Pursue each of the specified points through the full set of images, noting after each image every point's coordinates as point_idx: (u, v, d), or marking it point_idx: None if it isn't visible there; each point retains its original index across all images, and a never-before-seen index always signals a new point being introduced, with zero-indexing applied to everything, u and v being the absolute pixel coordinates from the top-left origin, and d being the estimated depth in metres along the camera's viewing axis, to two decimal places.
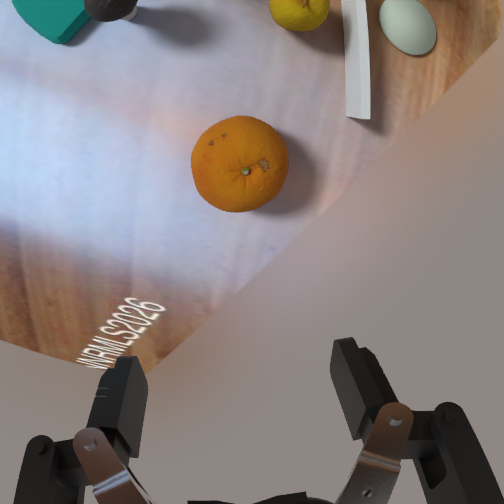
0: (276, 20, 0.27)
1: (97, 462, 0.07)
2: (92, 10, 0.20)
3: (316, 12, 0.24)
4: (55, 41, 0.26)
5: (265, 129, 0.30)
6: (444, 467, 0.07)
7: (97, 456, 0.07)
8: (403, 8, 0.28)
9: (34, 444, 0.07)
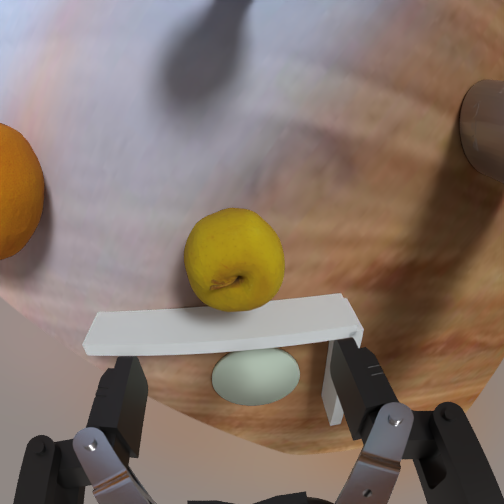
0: (196, 225, 0.19)
1: (97, 462, 0.07)
2: None
3: (209, 298, 0.19)
4: None
5: (14, 229, 0.16)
6: (444, 467, 0.07)
7: (96, 456, 0.07)
8: (278, 373, 0.31)
9: (34, 443, 0.07)
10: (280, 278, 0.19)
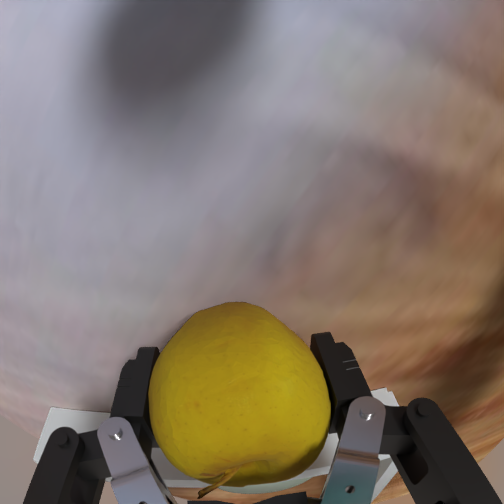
0: (165, 358, 0.09)
1: (124, 451, 0.07)
2: None
3: (199, 480, 0.09)
4: None
5: None
6: (424, 461, 0.08)
7: (120, 446, 0.08)
8: None
9: (58, 435, 0.07)
10: (323, 446, 0.09)
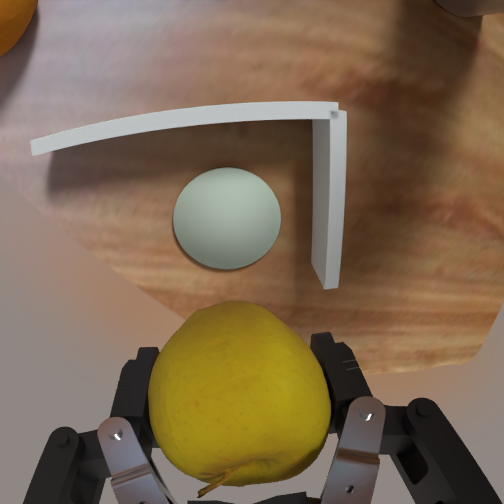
0: (165, 356, 0.09)
1: (124, 451, 0.07)
2: None
3: (199, 479, 0.09)
4: None
5: (3, 13, 0.12)
6: (424, 461, 0.08)
7: (120, 446, 0.08)
8: (253, 209, 0.26)
9: (58, 435, 0.07)
10: (323, 445, 0.09)
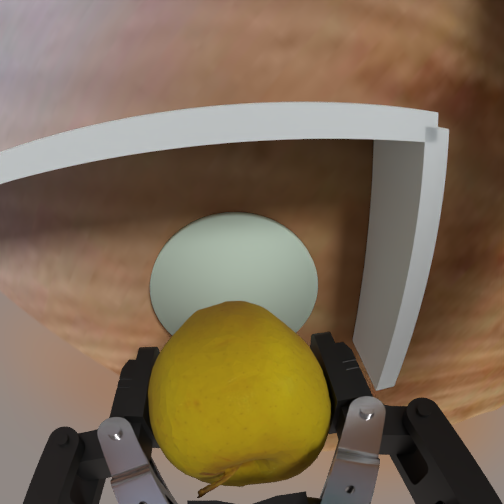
0: (165, 357, 0.09)
1: (124, 451, 0.07)
2: None
3: (199, 479, 0.09)
4: None
5: None
6: (424, 461, 0.08)
7: (120, 446, 0.08)
8: (276, 279, 0.17)
9: (58, 435, 0.07)
10: (323, 445, 0.09)
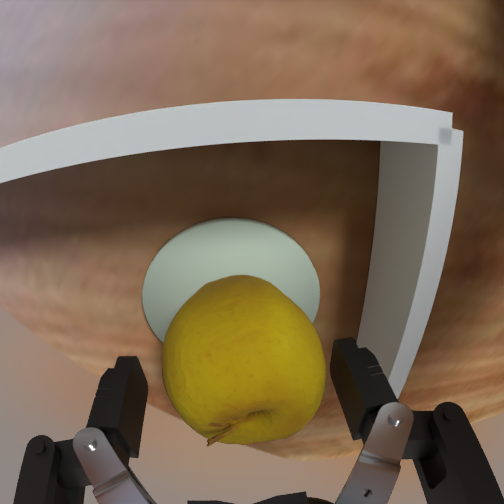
0: (179, 318, 0.11)
1: (97, 462, 0.07)
2: None
3: (207, 435, 0.10)
4: None
5: None
6: (444, 467, 0.07)
7: (97, 456, 0.07)
8: None
9: (35, 444, 0.07)
10: (320, 402, 0.11)
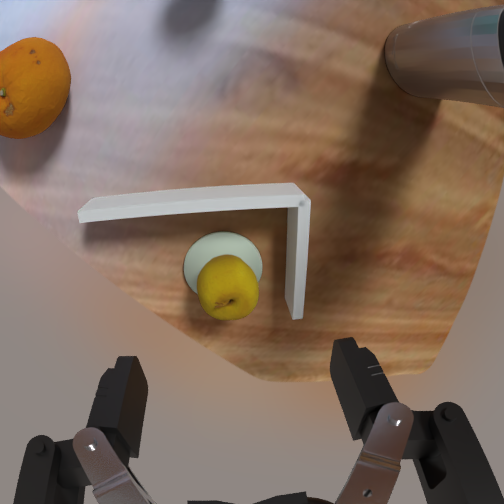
0: (205, 267, 0.32)
1: (97, 462, 0.07)
2: None
3: (213, 312, 0.31)
4: None
5: (46, 104, 0.21)
6: (444, 467, 0.07)
7: (96, 456, 0.07)
8: None
9: (35, 444, 0.07)
10: (255, 301, 0.32)
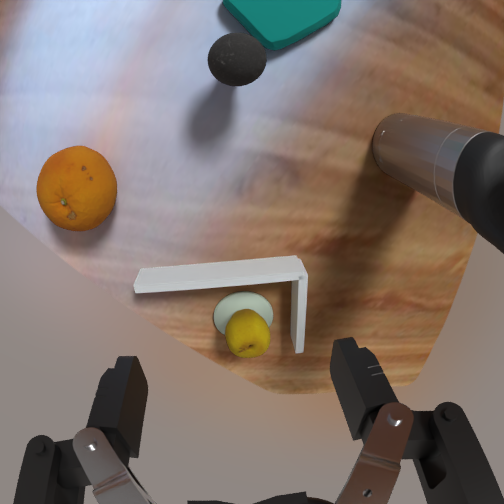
0: (231, 322, 0.43)
1: (97, 462, 0.07)
2: (218, 44, 0.24)
3: (238, 353, 0.42)
4: None
5: (102, 211, 0.33)
6: (444, 467, 0.07)
7: (96, 456, 0.07)
8: (258, 312, 0.48)
9: (34, 444, 0.07)
10: (268, 344, 0.43)
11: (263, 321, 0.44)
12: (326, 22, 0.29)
